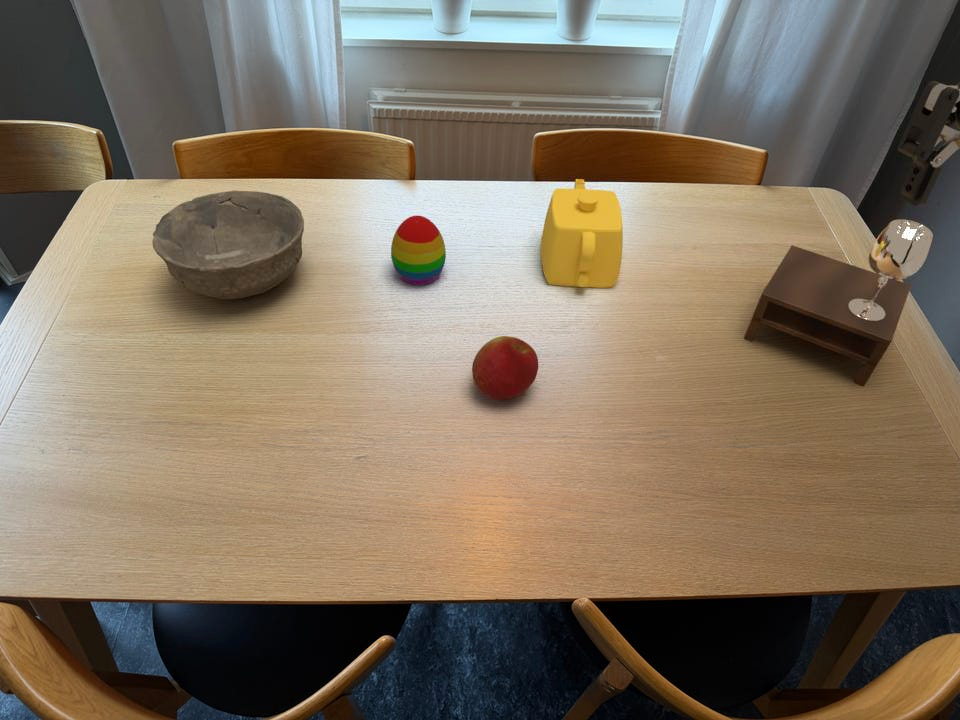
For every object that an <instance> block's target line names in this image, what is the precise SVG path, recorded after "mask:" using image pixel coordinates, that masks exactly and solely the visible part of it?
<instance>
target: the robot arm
mask: <svg viewBox="0 0 960 720" xmlns="http://www.w3.org/2000/svg"><path fill="white" fill-rule="evenodd" d="M955 123H956V127H957V128H958V130H957V129H954V128H952V127H951V126H952V125H954V124H955ZM922 130H923V134H922V137H921V139H920V141H918V138H919V137H920V135H921V132H922ZM943 141H944V143H943V144H942V145H941V146H939V148H938V149H937V150H936V149H935V147H937V145H939V143H941V142H943ZM959 149H960V82H958V83H957V84H956V85H947V84H944V83H941V82H938V81H936V80H932V81H930V82H928V83H927V84H926V86H925V87H924V89H923V90H922V93H921V95H920V97H919V99H918V101H917V104H916V106H915V108H914V110H913V113H912V114H911V117H910V119H909V121H908V123H907V125H906V127H905V129H904V132H903V134H902V136H901V139H900V141H899V143H898V145H897V151H898V152H900V153H902V154H904V155H906V156H908V157H910V158H912V164H911V166H910V168H909V170H908V172H907V175H906V178H905V180H904V182H903V184H902V187H901V191H900V192H901V197H902V200H904V201H905V202H907V203H909V204H911V205H913V206H924V205H925V204H926V203H927V202H928V200H929V197H930V195H931V192H932V191H933V188H934V186H935V184H936V182H937V180H938V178H939V175H940V173H941V171H942V169H943V167H942V165H943V164H944V163H945V162H946V161H947V160H949V158H950V157H951V156H952V155H953V154H954V153H956V152H957V151H958V150H959Z"/></svg>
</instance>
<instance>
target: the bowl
mask: <svg viewBox="0 0 960 720" xmlns="http://www.w3.org/2000/svg"><path fill="white" fill-rule="evenodd" d="M304 231H305V219H304V217H303V213H302V211H301V209H300V208H299V206H297V205H296V204H294V203H293V201H291V200H290V199H289V198H287V197H285V196H283V195H279V194H273V193H270V192H265V191H255V190H227V191H222V192H215V193H210V194H205V195H202V196H199V197H198V196H197V197H194V198H193V199H191V200H187V201H184V202H182V203H180V204H177V206H175V207H173V208H172V209H170V210H169V211H167V213H165V214H164V215H162V217H161V218H160V220H159V222H158V223H157V224H156V226H155V229H154V231H153V233H152V236H153V238H152V241H151V243H152V248H153V250H154V252H155V253H156V254H157V255H158V256H159V257H160V258H161V259H162V261H164V263H165V264H166V266H167V270H168V272H169V274H170V276H171V277H172V278H173V279H174V280H175V281H176V282H177V283H179V284H180V285H181V286H183V287H185V288H187V289H189V290H190V291H192V292H195V293H197V294H201V295H204V296H206V297H211V298H217V299H221V300H238V299H239V300H240V299H244V298H249V297H252V296H255V295H260V294H263V293H265V292H268V291H269V290H271V289H272V288H274V287H276V286H279V285H280V284H281V283H283V281H284V280H286V279H287V278H288V277H289V275H291V274H292V272H293V271H294V269H296V267H298V265H299V263H300V261H301V259H302V258H303V257H302V256H303V241H302V240H303V234H304Z"/></svg>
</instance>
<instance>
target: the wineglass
mask: <svg viewBox="0 0 960 720" xmlns="http://www.w3.org/2000/svg"><path fill="white" fill-rule="evenodd" d="M933 238H934V235H933V231H931V229H929V228H928V227H927V226H925V224H922V223H919V222H917V221H913V220H910V219H903V218H902V219H894V220H892V221H890V222H889V223H888V224H887V226H886V227H885V228H884V229H883V230H882V231H881V232H880V234H879V235H878V236H877V238H876V239H875V240H874V241H873V243H872V245H871V247H870V249H869V253H868V263H869V266H870V268H871V269H872V271H873V272H874V273H877V274H879V275H880V276H881V277H880V278H879V279H878V281H877V286H876V289H875V292H874V293H873V295H872V297H871V299H870V300H867V299H860V298H859V299H853V300H851V301H850V302H849V304H848V307H849V310H850V311H851V312H852V313H853V314H854V315H856V316H858V317H859V318H862V319H865V320H869V321H879V320H882V319H883V318H884V317H885V311H884V309H883V308H882V307H881V306H880V305H879V304H877V303H875V302H874V300H875V298H876V296H877V294H878V292H879V291H880V290H881V289H882V287H883V286H885V284H886V283H887V281H888V279H894V280H898V281H900V280H904V279H905V280H906V279H908V278H910V277H912V276H914V275H915V274H917V273H918V272H919V270H920V269H921V268H922V267H923V265H924V264H925V262H926V260H927V257H928V255H929V253H930V249H931V246H932V242H933Z"/></svg>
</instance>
